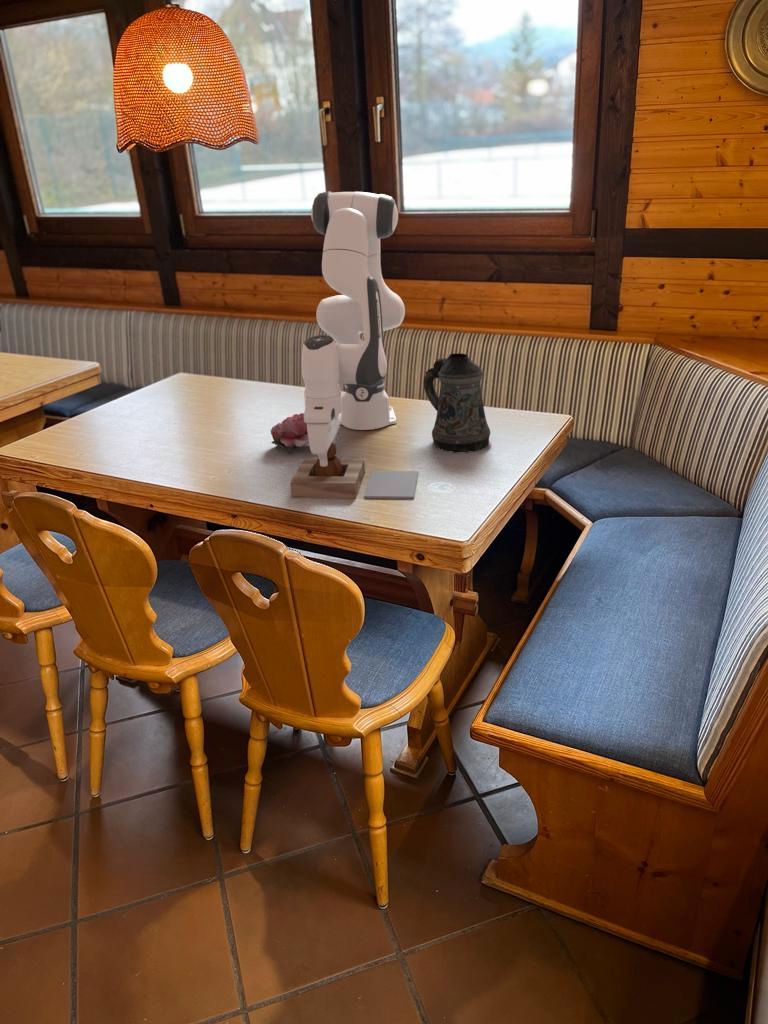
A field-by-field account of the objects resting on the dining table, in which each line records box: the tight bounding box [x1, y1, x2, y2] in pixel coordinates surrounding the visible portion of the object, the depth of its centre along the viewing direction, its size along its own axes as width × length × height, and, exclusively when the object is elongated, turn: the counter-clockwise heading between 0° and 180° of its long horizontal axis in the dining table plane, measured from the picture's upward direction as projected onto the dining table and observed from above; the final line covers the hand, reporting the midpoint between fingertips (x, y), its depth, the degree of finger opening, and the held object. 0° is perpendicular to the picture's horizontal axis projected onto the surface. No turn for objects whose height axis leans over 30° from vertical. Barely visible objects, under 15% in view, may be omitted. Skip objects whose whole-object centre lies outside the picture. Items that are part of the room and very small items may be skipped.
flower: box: [270, 412, 309, 454], centre depth 214 cm, size 15×15×10 cm
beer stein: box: [423, 352, 491, 453], centre depth 210 cm, size 16×19×25 cm
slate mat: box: [363, 470, 420, 500], centre depth 189 cm, size 16×12×1 cm
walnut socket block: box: [289, 457, 366, 499], centre depth 190 cm, size 16×16×4 cm
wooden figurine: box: [315, 442, 342, 477], centre depth 188 cm, size 7×6×15 cm
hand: (327, 458), depth 188 cm, fingers open, 8 cm apart
